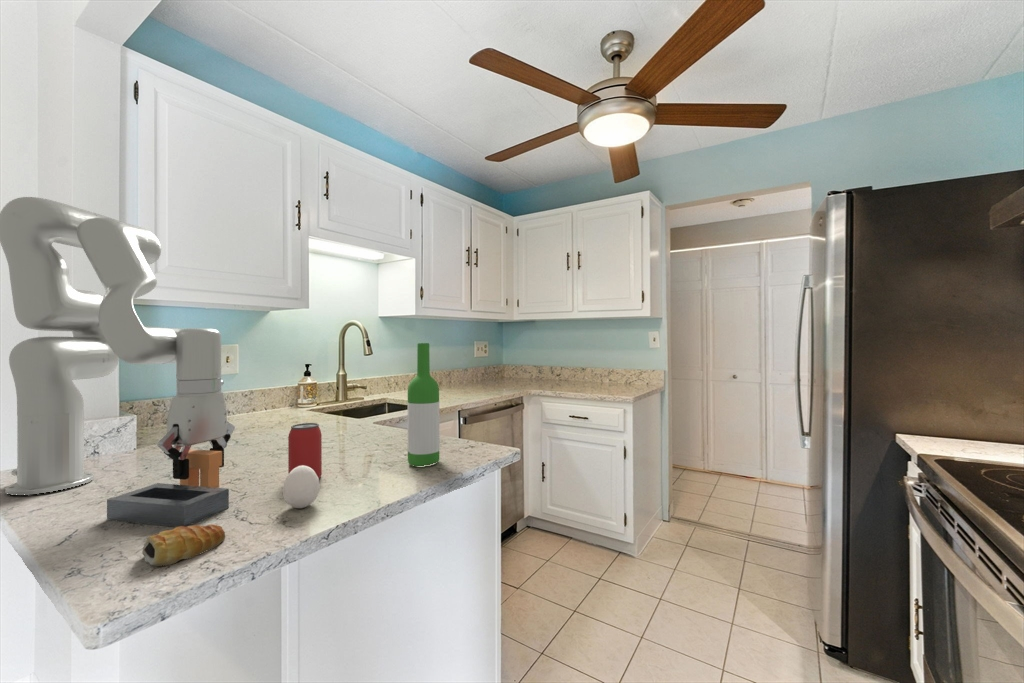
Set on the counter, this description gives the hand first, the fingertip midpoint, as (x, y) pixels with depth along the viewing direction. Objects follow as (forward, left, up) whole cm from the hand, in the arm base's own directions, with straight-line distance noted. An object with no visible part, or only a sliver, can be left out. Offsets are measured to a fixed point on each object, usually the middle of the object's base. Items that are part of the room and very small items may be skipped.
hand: (199, 472), depth 88 cm
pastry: (+22, -23, -4) cm, 32 cm away
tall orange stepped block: (0, 0, -3) cm, 3 cm away
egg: (+28, -5, -4) cm, 29 cm away
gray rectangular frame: (+7, -12, -3) cm, 14 cm away
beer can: (+18, +9, -4) cm, 20 cm away
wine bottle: (+39, +25, -4) cm, 46 cm away
